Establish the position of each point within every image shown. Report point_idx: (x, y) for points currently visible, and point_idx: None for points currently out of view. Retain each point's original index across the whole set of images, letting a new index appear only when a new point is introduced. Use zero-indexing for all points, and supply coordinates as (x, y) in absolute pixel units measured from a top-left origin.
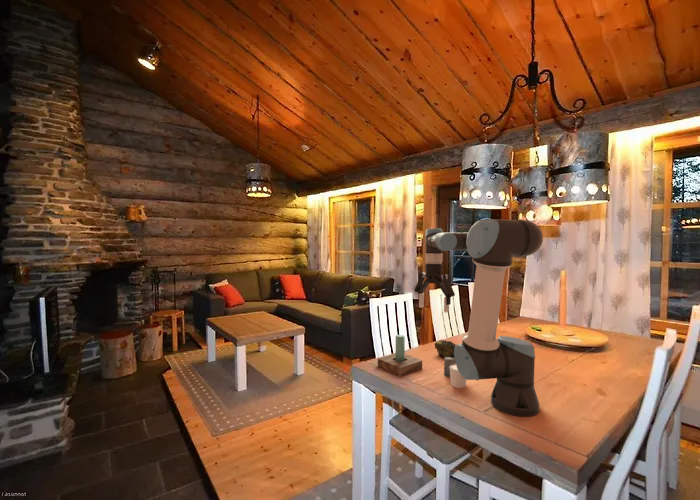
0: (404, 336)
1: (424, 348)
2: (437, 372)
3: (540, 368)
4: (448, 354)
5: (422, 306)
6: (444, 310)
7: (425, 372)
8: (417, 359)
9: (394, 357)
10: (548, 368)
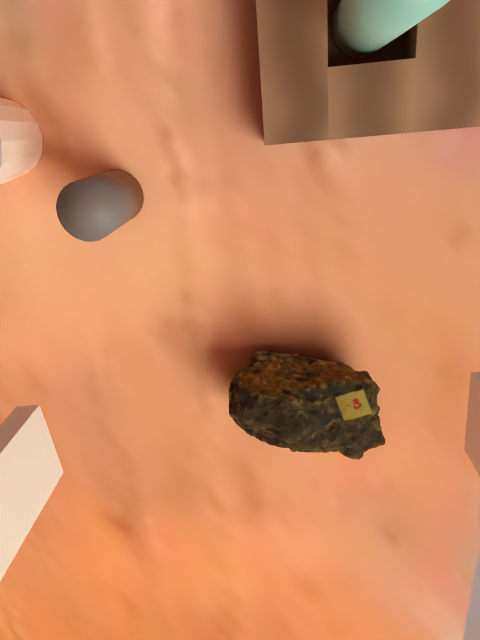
0: (383, 1)
1: None
2: (175, 171)
3: None
4: (266, 365)
5: (472, 427)
6: (18, 422)
7: (209, 110)
8: (295, 129)
9: None
10: None
